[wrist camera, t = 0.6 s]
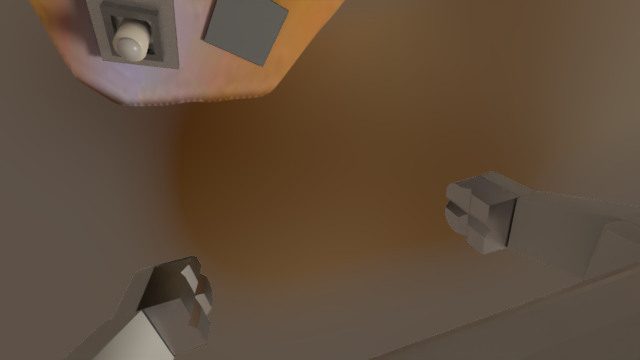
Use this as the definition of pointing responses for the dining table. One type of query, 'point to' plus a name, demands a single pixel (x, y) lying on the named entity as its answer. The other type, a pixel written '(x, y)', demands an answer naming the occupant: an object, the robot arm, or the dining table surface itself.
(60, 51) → the dining table surface
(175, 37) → the grey square socket
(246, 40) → the charcoal mat
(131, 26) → the salt shaker
